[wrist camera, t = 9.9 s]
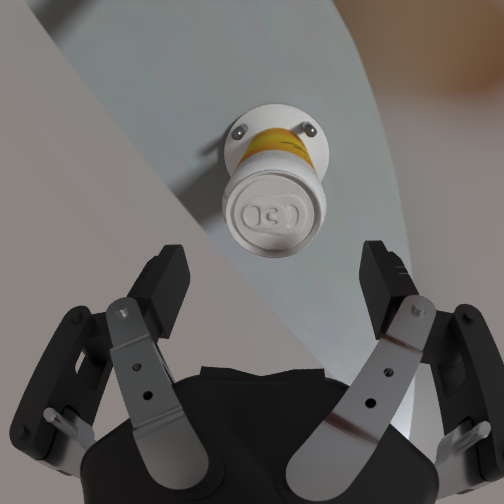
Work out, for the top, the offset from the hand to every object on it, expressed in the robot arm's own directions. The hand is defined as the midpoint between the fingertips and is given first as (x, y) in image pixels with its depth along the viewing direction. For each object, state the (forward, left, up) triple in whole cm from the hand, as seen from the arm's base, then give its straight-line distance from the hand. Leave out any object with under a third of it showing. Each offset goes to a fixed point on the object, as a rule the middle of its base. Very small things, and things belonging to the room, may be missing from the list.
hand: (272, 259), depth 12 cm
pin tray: (0, 0, -20) cm, 20 cm away
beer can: (0, 0, -19) cm, 19 cm away
